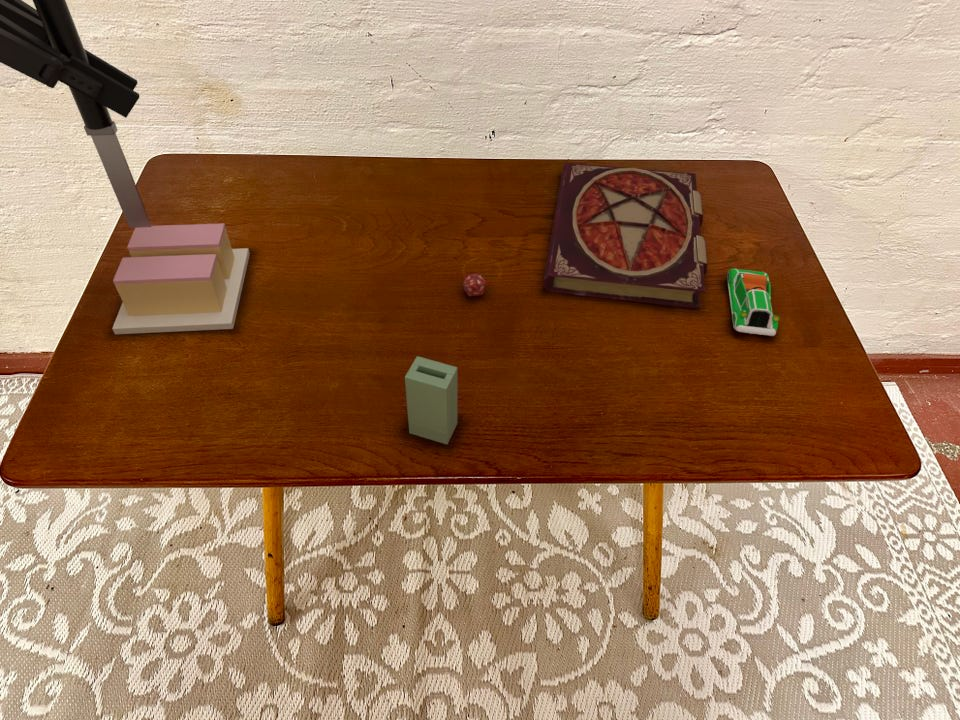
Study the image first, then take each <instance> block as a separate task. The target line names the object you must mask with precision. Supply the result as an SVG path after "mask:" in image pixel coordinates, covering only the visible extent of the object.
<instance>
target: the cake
mask: <svg viewBox="0 0 960 720" xmlns="http://www.w3.org/2000/svg"><path fill="white" fill-rule="evenodd" d="M126 248H127V250H128V251H127V252H129V255H130V257H129V256H128V257H122V258H121V261H120V263H119V264H118V265H119V266H118V267H117V269H116V272H115V274H114V276H113V279H112V282H113V284H114V286H115V288H116V290H117V292H118V295H119V297H120V299H121V301H122V303H121V305H120V308H119V310H118V312H117V316H116V318H115V321H114V323H113V325H112V328H111V329H112V332H113V334H114V335H130V334H131V335H132V334H152V333H153V334H154V333H175V332H176V333H177V332H193V331H194V332H197V331H216V330H217V331H218V330H233V329H234V326H235V323H236V318H237V313H238V309H239V305H240V300H241V296H242V291H243V288H244V287H243V286H244V282H245V278H246V273H247V268H248V265H249V259H250V255H251V253H250V250H249V248H248V247H245V248H233V247H232V245H231V240H230V237H229V234H228V231H227V227H226V223H223V222H221V223H196V224H194V223H193V224H167V225H152V226H151V227H144V228H134V230H133V233H132V235H131V237H130V239H129V241H128V244H127V246H126Z"/></svg>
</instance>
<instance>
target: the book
mask: <svg viewBox="0 0 960 720" xmlns="http://www.w3.org/2000/svg"><path fill="white" fill-rule="evenodd" d="M697 187H698V186H697V175H696V173H695V172H685V171H684V172H682V171H671V170H658V169H645V168H635V167H623V166H612V165H611V166H610V165H600V164H599V165H598V164H586V163H575V162H574V163H573V162H566V163H564V165H563V166H562V170H561V176H560V181H559V188H558V194H557V200H556V205H555V210H554V211H555V212H554V217H553V224H552V228H551V235H550V240H549V246H548V252H547V258H546V263H545V270H544V275H543V284H542V287H543V289H544V290H545V291H546V292H548V293H549V292H550V293H556V294H557V293H558V294H566V295H567V294H568V295H575V296H583V297H592V298H593V297H594V298H600V299H601V298H602V299H610V300H618V301H619V300H620V301H627V302H636V303H643V304H653V305H662V306H670V307H671V306H672V307H680V308H689V309H697V310H701V306H702V305H701V296H700V295H701V294H700V293H706V282H705V277H706V275H707V274H708V273H707V272H708V256H707V245H706V244H707V243H706V238H705V237H703V236H702V235H701V227H702V225H703V221H704V220H703V219H704V213H703V201H702V193H701V192H699V191H698V189H697Z"/></svg>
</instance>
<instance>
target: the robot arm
mask: <svg viewBox="0 0 960 720" xmlns="http://www.w3.org/2000/svg"><path fill="white" fill-rule="evenodd" d="M84 50H85V52H86V55H87V58H88V60H89V63H90V65H91V66H90V65H89V64H87V63H85V62H84V61H82V60H80V59H79V58H77V57H75V56H73V55H71V57H70V58H68V57H67V56H66V55H64V54H62V53H61V52H59V51H57V50H56V49H54V48H53V47H52V45H51V43H50V41H49V38H48V36H47V33H46V31H45V29H44V26H43V24H42V22H41V19H40V17H39V14H38V12H37V10H36V8H34V7H33V6H32V5H30V4H29V3H27V2H25V1H23V0H0V64H1V65H2V64H3V65H4V66H7V67H8V68H11V69H12V70H15V71H17V72H19V73H20V74H22V75H25V76H27V77H28V78H30V79H32V80H35V81H36V82H38V83H40V84H42V85H45V86H46V87H48V88H50V89H54V88H55V87H56V86H57V84H58V83H59V82H60V83H61V84H64V85H66V86H67V87H68V88H69V87H71V88H73V89H75V90H76V91H78V92H80V93H82V94H84V95H85V96H87V97H89V98H91V99H93V100H94V101H96V102H98V103H100V104H102V105H103V106H105V107H107V109H108V110H111V111H112V112H114V113H116V114H118V115H119V116H121V117H123V118H125V119H127V118H128V116H129V115H130V113H131V111H132V110H133V108H134V107H135V105H136V104H137V102H138V101H139V99H140V93H138V92H137V91H135V89H136V87H137V86H138V84H139V83H138V79H135V78H134V77H132V76H131V75H129V74H127V73H126V72H124V71H123V70H120V69H119V68H118V67H115V66H114V65H112V64H110V63H109V62H107V61H105V60H104V59H102V58H100V57H99V56H97V55H96V54H94V53H92V52H90V51H88V50H87V49H85V48H84Z"/></svg>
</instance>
